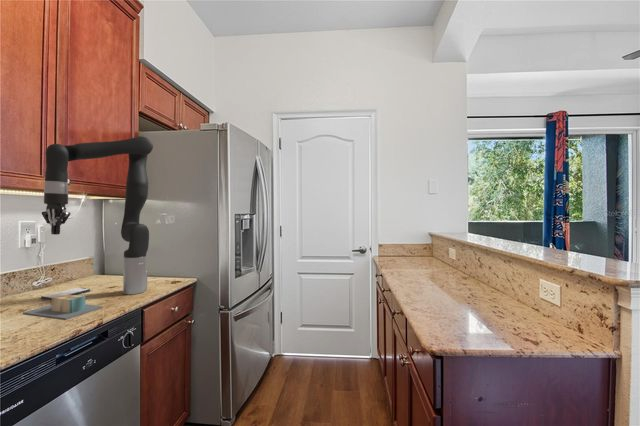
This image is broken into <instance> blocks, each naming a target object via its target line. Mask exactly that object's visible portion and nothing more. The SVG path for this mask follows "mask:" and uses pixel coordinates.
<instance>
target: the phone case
mask: <svg viewBox="0 0 640 426" xmlns="http://www.w3.org/2000/svg"><path fill="white" fill-rule="evenodd" d="M90 292H91V289H90V288H86V287H74V288H70V289H66V290H61V291H57V292H53V293H48V294H44V295H41V296H40V300H41V299H42V300H47V301H52V297H56V296H60V295H64V294H69V295H78V296H79V295H82V293H83V294H85V293H90Z"/></svg>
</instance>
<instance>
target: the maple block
mask: <svg viewBox="0 0 640 426" xmlns="http://www.w3.org/2000/svg"><path fill="white" fill-rule="evenodd" d="M85 304H86V296H85V295H79V294H78V295H69V294H64V295H60V296H56V297H52V300H51V305H52V311H59V312H67V313H74V312H77V311H80V310H83V309H85Z"/></svg>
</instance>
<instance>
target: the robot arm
mask: <svg viewBox="0 0 640 426" xmlns="http://www.w3.org/2000/svg"><path fill="white" fill-rule="evenodd" d="M153 148H154V144H153V142H152V141H151V139H149V138H148V137H145V136H142V135H141V136H140V135H139V136H134V137H132V138H126V139H122V140H112V141H111V140H110V141H95V142H79V143H75V144H72V145H71V144H70V145H62V144H60V143H52V144H50V145H48V146H47V147H46V149H45V159H46V160H45V161H46V162H45V164H46V167H45V173H44V186H43V204H44V205H46V207H45V209H46V210H45V211H42V212H41V216H42V217H43V218H44V220H45V223H46V224H48V225H50V233H51V235H54V236H55V235H56V236H57V235H60V234H61V226H62V225H65V223H66V222H67V220H68V219H69V217H70V215H71V212H70V211H67V208H66V205H68V204H69V184H68V183H69V182H68V179H69V176H68V175H69V174H68V165H69V162H72V161H73V162H75V161H79V160H81V161H82V160H93V159H101V158H107V157H112V156H118V155H128V170H127V176H126V183H125V184H126V185H125V201H124V210H123V211H124V214H123V217H122V218H123V219H122V224H121V229H120V235H121V238H122V239H123V241H125V242H128V243H129V244H128V248H127V249H125V250H124V252H123V275H122V276H123V278H122V279H123V281H122V283H123V284H122V293H123V295H124V294H125V295H138V294H143V293H145V292H146V291H148V270H147V252H148V251H149V243H150V241H149V240H150V231H149V228H148V226H147V225H146V224H144V223H143V224H142V223H140V218H141V217H140V216H141V213H142V209H143V208H144V206H145V204H146V202H147V199H148V196H149V179H148V173H147V159H148V156H149V155H150V154H151V152H152V151H153Z"/></svg>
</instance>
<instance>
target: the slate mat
mask: <svg viewBox="0 0 640 426" xmlns="http://www.w3.org/2000/svg"><path fill="white" fill-rule="evenodd" d="M103 308H104V306H103V305H102V306H101V305H93V304H86V303H85V309H83V310H80V311H77V312H74V313H67V312H59V311H52V304H49V305H46V306H42V307H39V308H35V309H29V310H27V311H22V314H23V315H27V316H37V317H38V316H39V317H44V318H52V319H59V320H65V319H66V320H69V319H72V317H73V318H76V317H78V316H81V315H84V314H88V313H90V312H94V311H96V310H100V309H103ZM75 316H76V317H75Z"/></svg>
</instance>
